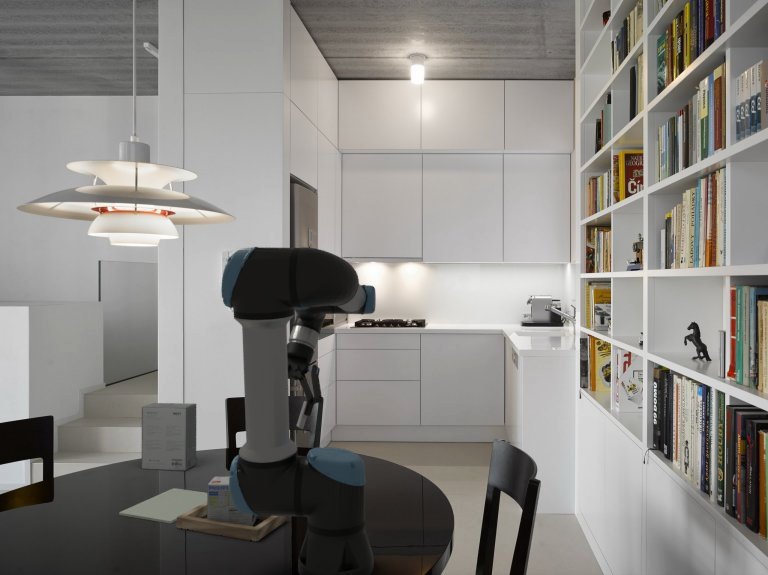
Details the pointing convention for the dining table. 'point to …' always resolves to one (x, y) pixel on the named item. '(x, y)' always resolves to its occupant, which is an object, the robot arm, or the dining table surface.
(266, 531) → the oak frame
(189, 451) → the hard drive box
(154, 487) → the dining table surface
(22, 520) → the dining table surface
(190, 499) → the sage mat
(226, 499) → the light bulb box
